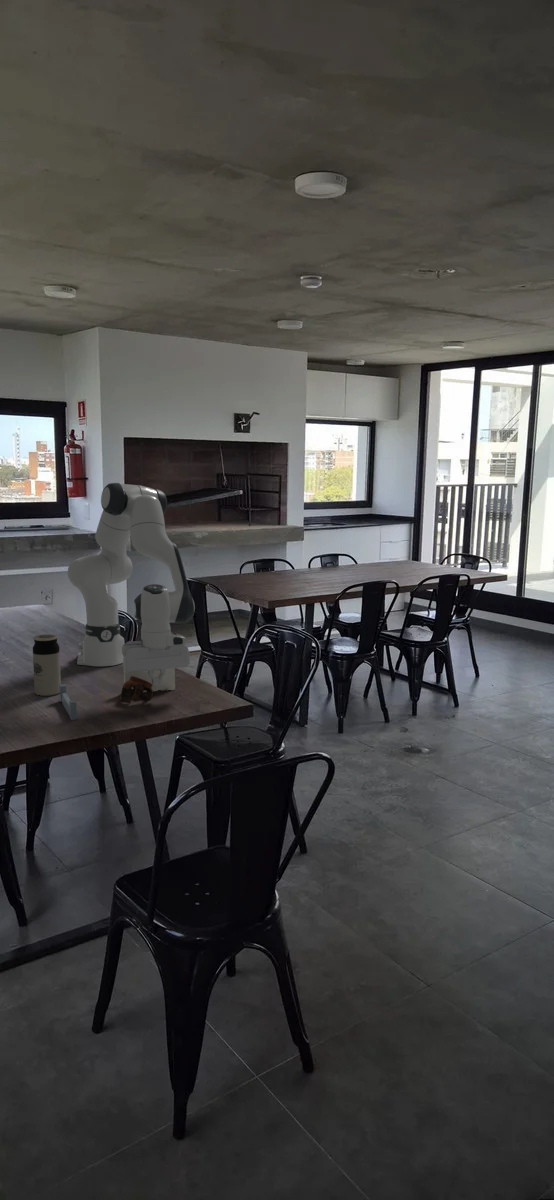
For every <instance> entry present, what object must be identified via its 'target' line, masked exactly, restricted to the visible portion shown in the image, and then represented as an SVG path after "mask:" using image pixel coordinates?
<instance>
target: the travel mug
mask: <svg viewBox="0 0 554 1200" xmlns="http://www.w3.org/2000/svg"><path fill="white" fill-rule="evenodd" d="M32 639H33V641H34V645H33V646H32V661H33V663H32V665H33V680H34V681H33V683H34V684H33V685H34V694H35V695H37V696H39V695H40V696H41V697H49V696H50V697H51V696H55V695H58V694H60V685H62V682H61V656H60V655H61V653H60V644H59V642H58V639H59V635H57V634H53V633H52V634H50V633H49V634H48V633H47V634H37V635H35V636H33V637H32Z"/></svg>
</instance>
